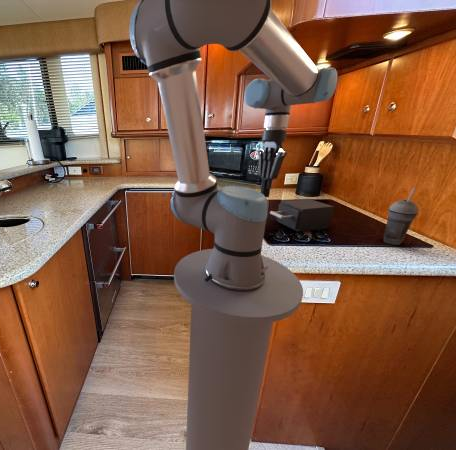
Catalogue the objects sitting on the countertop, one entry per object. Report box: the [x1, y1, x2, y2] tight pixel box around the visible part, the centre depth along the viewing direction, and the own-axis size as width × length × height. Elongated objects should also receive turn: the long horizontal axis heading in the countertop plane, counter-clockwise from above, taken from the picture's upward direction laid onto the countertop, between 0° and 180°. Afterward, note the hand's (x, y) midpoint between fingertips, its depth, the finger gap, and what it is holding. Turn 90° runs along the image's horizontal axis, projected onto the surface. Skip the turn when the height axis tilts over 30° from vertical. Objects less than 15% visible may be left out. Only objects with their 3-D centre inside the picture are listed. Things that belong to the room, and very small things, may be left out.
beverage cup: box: [382, 187, 419, 246], centre depth 82 cm, size 7×7×20 cm
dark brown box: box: [278, 198, 335, 233], centre depth 102 cm, size 15×13×10 cm
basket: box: [269, 203, 301, 230], centre depth 101 cm, size 19×11×8 cm, turn 102°
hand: (264, 196), depth 89 cm, fingers closed
